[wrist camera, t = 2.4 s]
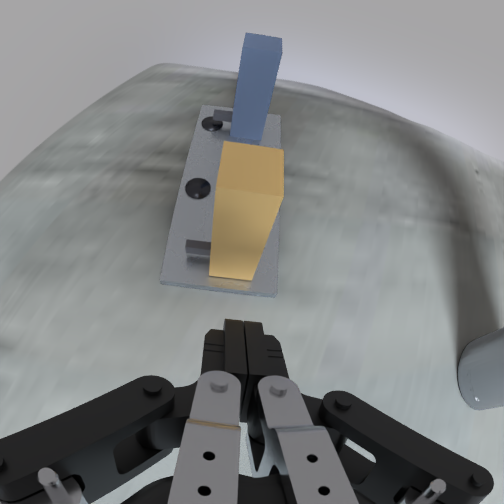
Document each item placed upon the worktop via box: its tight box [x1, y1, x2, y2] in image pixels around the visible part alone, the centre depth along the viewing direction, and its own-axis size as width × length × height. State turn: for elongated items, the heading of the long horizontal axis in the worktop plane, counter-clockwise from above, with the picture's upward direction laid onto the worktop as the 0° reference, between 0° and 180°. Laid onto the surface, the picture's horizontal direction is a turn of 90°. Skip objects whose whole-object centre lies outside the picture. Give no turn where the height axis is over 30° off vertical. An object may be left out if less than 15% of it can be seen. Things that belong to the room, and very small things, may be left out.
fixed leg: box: [213, 33, 282, 141], centre depth 34 cm, size 4×6×13 cm, turn 86°
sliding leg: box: [185, 141, 284, 281], centre depth 25 cm, size 4×6×13 cm, turn 86°
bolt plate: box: [160, 105, 281, 298], centre depth 36 cm, size 26×11×1 cm, turn 176°
